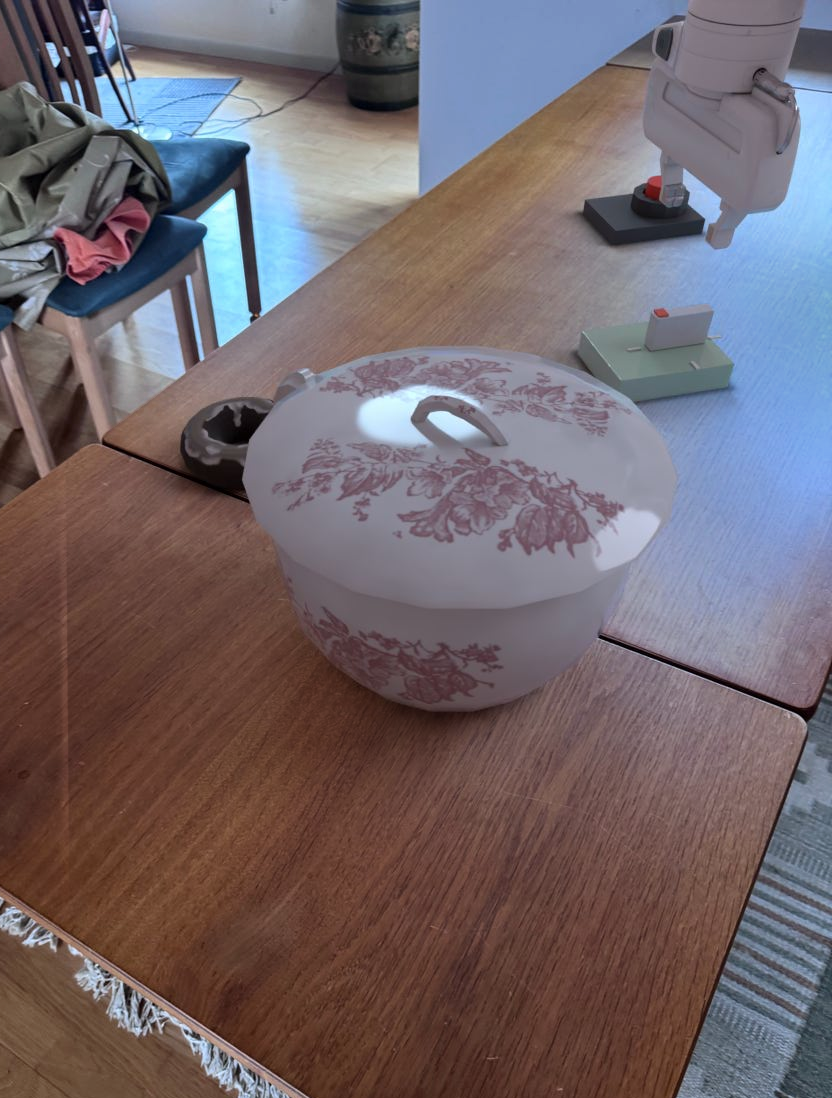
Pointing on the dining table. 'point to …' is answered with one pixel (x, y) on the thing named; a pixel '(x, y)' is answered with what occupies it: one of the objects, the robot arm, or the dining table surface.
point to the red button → (654, 187)
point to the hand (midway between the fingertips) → (692, 224)
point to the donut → (222, 439)
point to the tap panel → (652, 363)
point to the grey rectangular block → (678, 327)
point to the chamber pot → (456, 516)
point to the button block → (641, 218)
